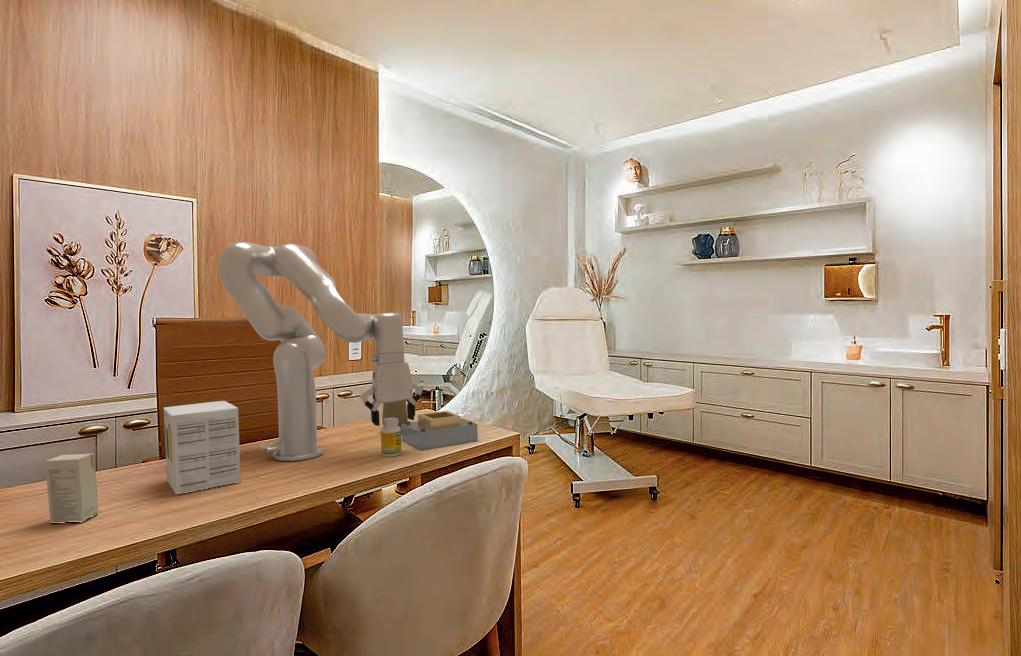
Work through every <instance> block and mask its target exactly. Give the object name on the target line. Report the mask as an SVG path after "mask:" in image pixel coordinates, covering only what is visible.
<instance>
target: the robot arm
mask: <svg viewBox="0 0 1021 656" xmlns="http://www.w3.org/2000/svg"><path fill="white" fill-rule="evenodd" d="M218 258H219V259H218V263H217V272H218V276H219V280H220V282H221V284H222V286H223V287H224V289H225V291H226V292H227V293H228V294H229V296H230V297H231V299H232V300H233V301H234V303H235V304H236V305H237V306H238V308H239V309H240V311H241V312H242V314H243V316H245V319H247V321H248V322H249V323H250V325H251V326H252V328H253V330H255V332H256V334H258V335H259V337H260V338H261V339H263V340H266V341H270V342H271V341H274V342H275V341H279V342H280V343H279V344H278V345H277V346H276V348H275V350H274V352H273V358H272V359H273V360H272V361H273V362H272V363H273V367H274V368H273V370H274V374H275V379H276V389H277V414H278V438H276V441H273V442H272V443H267V444H265V443H264V444H260V446H259V451H260V453H273V459H275V460H277V461H282V462H283V461H285V462H295V461H304V460H308V459H313V458H316V457H319V456H320V455H323V453H324V448H323V446H320V445H318V429H317V428H318V425H317V397H316V396H317V395H316V383H315V377H314V373H313V370H314V369H316V368H319V367H320V366H321V365H322V364H323V363H324V361H325V359H326V354H327V353H326V348H325V345H324V343H323V341H322V340H321V338H320V337H319V335H318V334H317V333H316V332H315V330H314V329H313V328H312V326H311V324H310V323H309V321H308V320H306V318H305V316H304V315H303V314H302V313H301V312H300V311H298V310H297V309H296V308H294V307H292V306H288V305H281V304H279V303H278V302H277V300H276V299H275V298H274V296H273V295H272V294H271V292H270V291H269V289H268V288H267V287H266V286H265V285H264V284H263V283H262V282H261V281H260V280H259V279H258V278H257V276H260V277H285V278H286V280H288V281H289V282H290V283H291V284H292V285H293V286H294V287H295V288H296V289H297V290H298V291H299V292H300V293H301V295H303V296H304V297H305V298H306V299H307V300H308V301H309V303H310V304H311V306H312V308H313V309H314V311H315V312H316V313H317V315H318V316H319V318H320V319H321V321H323V323H324V324H325V325H326V326H327V327H328V328H329V329H331V331H333V332H334V333H335V334H336V336H338V337H339V338H340V339H342V340H343V341H345V342H348V343H351V344H352V343H354V344H356V343H360V342H361V343H362V342H366V341H370V340H374V348H375V349H374V351H375V352H374V355H372V356H370V362H374V363H375V364H374V365H373V369H372V377H371V380H372V381H371V387H370V388H369V389H367V390H366V391H364V392H363V393H361V394H360V395H359V398H360V400H361V402H363V403H362V404H363V405H364V406H365V407H366V408H367V409H369V411H370V417H371V423H373V425H374V426H377V427H379V426H380V425H381V423H380V422H381V421H380V411H379V410H378V408H379V407H380V406H381V404H383V403H389V402H396V401H403V400H405V402H407V403H406V410H407V418H408V420H409V421H414V420H415V416H416V405H417V403H418V401H419V400H420V398H421V395H422V393H423V391H424V388H423V387H422V386H420V385H418V384H415V383H413V382H412V381H413V380H412V375H411V370H410V366H409V363H408V362H405V360H406V359H405V346H404V344H405V343H404V329H403V316H402V315H401V314H400V313H398V312H384V313H382V312H381V313H377V314H373V313H357V312H356V311H355V310H354V309H352V307H351V306H350V305H348V303H347V302H346V301H345V300H344V299H343V298H342V297H341V295H340V294H339V292H338V290H337V285H336V281H335V279H334V278H333V277H332V276H331V275H330V274H329V273H328V272H327V271H326V270H325V269H324V268H323V267H322V266H321V265H320V264H319V261H318V258H317V255H316V254H315V252H314V251H313V250H312V249H310V248H309V247H307V246H303V245H300V244H295V243H284V244H282V245H280V246H272V245H271V246H269V245H268V246H267V245H262V244H258V243H253V242H249V241H235V242H232V243H230V244H228V245H227V246H226V247H225V248H223V250H222V252H221V253H220V255H219V257H218ZM414 390H415V393H414ZM370 396H372V402H370V400H369V399H368V397H370Z"/></svg>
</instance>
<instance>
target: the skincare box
mask: <svg viewBox="0 0 1021 656" xmlns="http://www.w3.org/2000/svg"><path fill="white" fill-rule="evenodd" d="M44 464H45V469H46V470H45V471H46V472H45V475H46V485H47V496H48V497H47V498H48V509H49V520H50V522H69V521H84V520H86V519H88V518H89V517H91V516H93V515H95V514H97V513H100V511H99V501H98V487H97V475H96V473H97V472H96V461H95V453H94V452H93V453H79V454H78V453H75V454H73V453H72V454H71V453H70V454H61V455H58V456H55V457H53V458H52V457H51V458H49V459H47V460H45V461H44ZM88 520H89V519H88ZM86 521H87V520H86ZM84 522H85V521H84Z"/></svg>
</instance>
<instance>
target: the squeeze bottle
mask: <svg viewBox="0 0 1021 656" xmlns="http://www.w3.org/2000/svg"><path fill="white" fill-rule="evenodd" d="M406 402H407V401H406V400H403V401H396V402H389V403H382V418H381V423H382V427H384V425H383V419H386V418H398V424H397V425H398V426H400V428H401V434H402V423H406V422H407V421H409V419H408V417H407V403H406Z"/></svg>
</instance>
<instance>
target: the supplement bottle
mask: <svg viewBox="0 0 1021 656" xmlns="http://www.w3.org/2000/svg"><path fill="white" fill-rule="evenodd" d="M397 424H398V418H386V419H383V423H382V427H381V429H380V442H381V443H380V447H381V448H380V451H381V453H380V454H381V456H383V457H389V458H390V457H397V456H399V455H401V454H402V451H403V450H402V433H401V428H400V426H398V425H397ZM383 425H384V426H383Z"/></svg>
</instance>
